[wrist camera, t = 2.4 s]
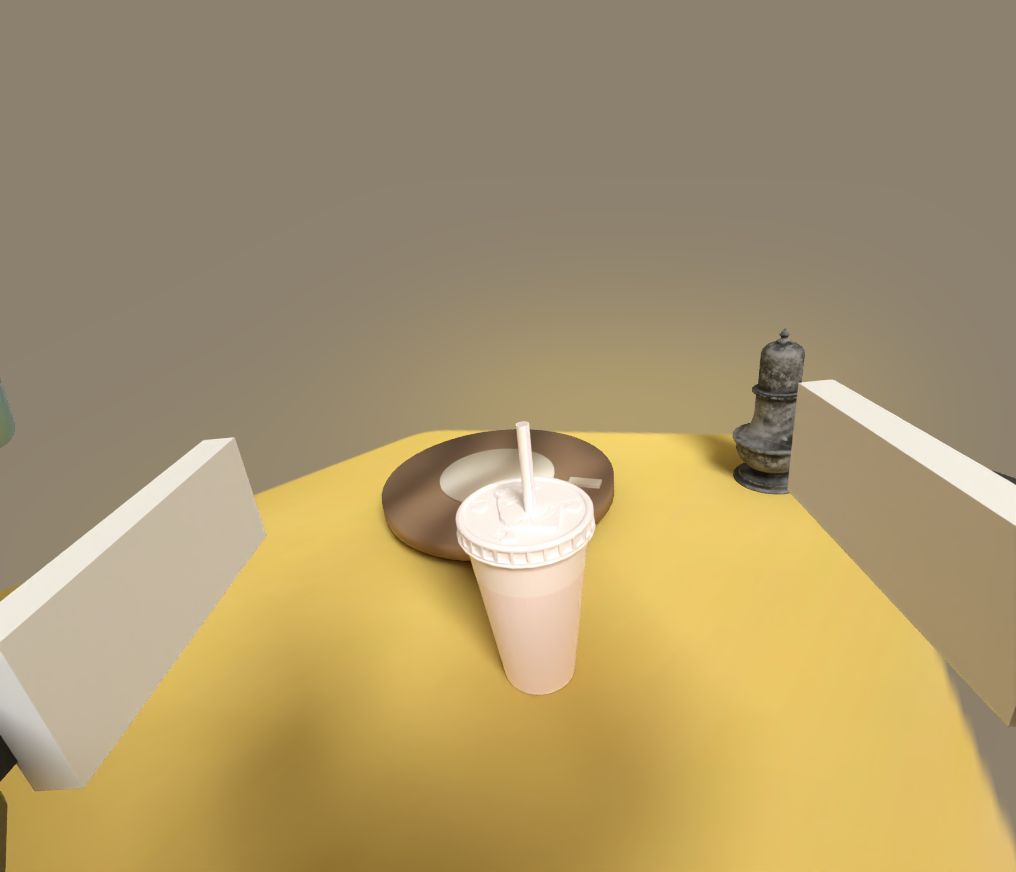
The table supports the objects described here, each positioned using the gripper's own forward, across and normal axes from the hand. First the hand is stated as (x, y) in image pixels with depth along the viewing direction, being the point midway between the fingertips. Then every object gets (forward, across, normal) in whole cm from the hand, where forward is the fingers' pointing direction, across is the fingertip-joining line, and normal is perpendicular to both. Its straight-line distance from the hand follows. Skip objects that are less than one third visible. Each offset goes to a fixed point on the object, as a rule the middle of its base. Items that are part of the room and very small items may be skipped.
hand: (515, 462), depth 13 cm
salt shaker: (+28, +19, -17) cm, 38 cm away
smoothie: (+10, 0, -17) cm, 20 cm away
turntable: (+27, -3, -16) cm, 31 cm away
